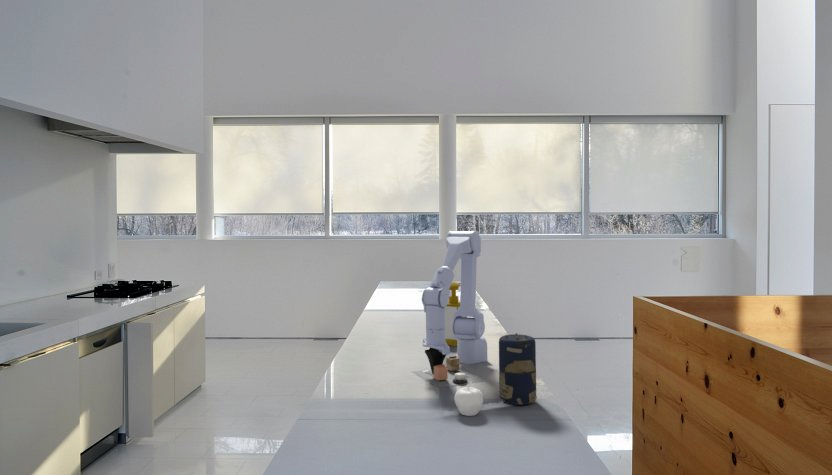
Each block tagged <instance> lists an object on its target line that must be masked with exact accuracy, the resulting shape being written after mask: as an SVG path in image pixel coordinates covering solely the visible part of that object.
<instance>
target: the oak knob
mask: <svg viewBox="0 0 832 475" xmlns="http://www.w3.org/2000/svg"><path fill="white" fill-rule="evenodd" d="M445 362H446V365H445V366H446V367H447V369H448V370H450V371H454V370H459V368H460V363H459V358H457V355H452V356H448V357H447V356H446V357H445Z"/></svg>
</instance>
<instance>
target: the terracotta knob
mask: <svg viewBox="0 0 832 475" xmlns="http://www.w3.org/2000/svg"><path fill="white" fill-rule="evenodd" d="M434 378H435V379H436V380H446V379H448V371H447V367H446V365H445V364H444V363H443V364H442V365H436V366H434Z"/></svg>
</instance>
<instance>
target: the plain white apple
mask: <svg viewBox="0 0 832 475" xmlns="http://www.w3.org/2000/svg"><path fill="white" fill-rule="evenodd" d="M472 384H473V383H472V382H470V384H468V386H465V387H461V388H459V389H457V391H456V392H455V394H454V403H455V406H456V408H457V410H458V412H459V414H460V415H462V416H468V417H474V416H476V415H478V413H479V412H480V410H481V409H482V406H483V404H484V395H483V393H482V391H481V390H480V389H478V388H476V387H472V386H471V385H472Z"/></svg>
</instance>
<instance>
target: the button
mask: <svg viewBox="0 0 832 475" xmlns="http://www.w3.org/2000/svg"><path fill="white" fill-rule="evenodd" d="M455 380H465V373H455Z"/></svg>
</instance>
